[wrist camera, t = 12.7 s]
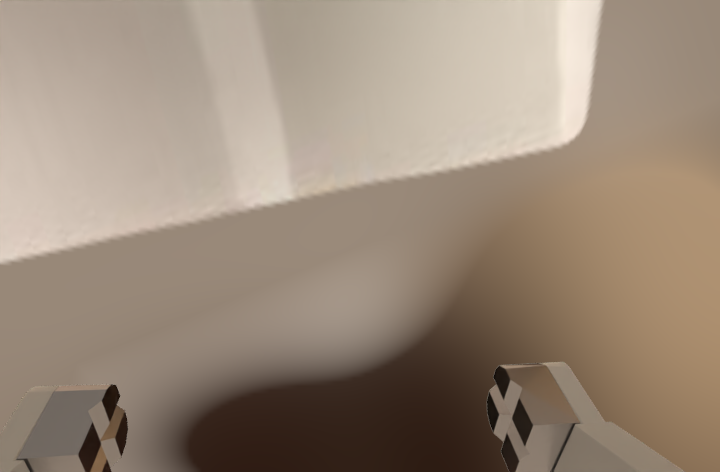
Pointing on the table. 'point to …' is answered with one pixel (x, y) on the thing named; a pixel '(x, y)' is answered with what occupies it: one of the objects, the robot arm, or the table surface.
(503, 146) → the table surface
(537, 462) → the robot arm
